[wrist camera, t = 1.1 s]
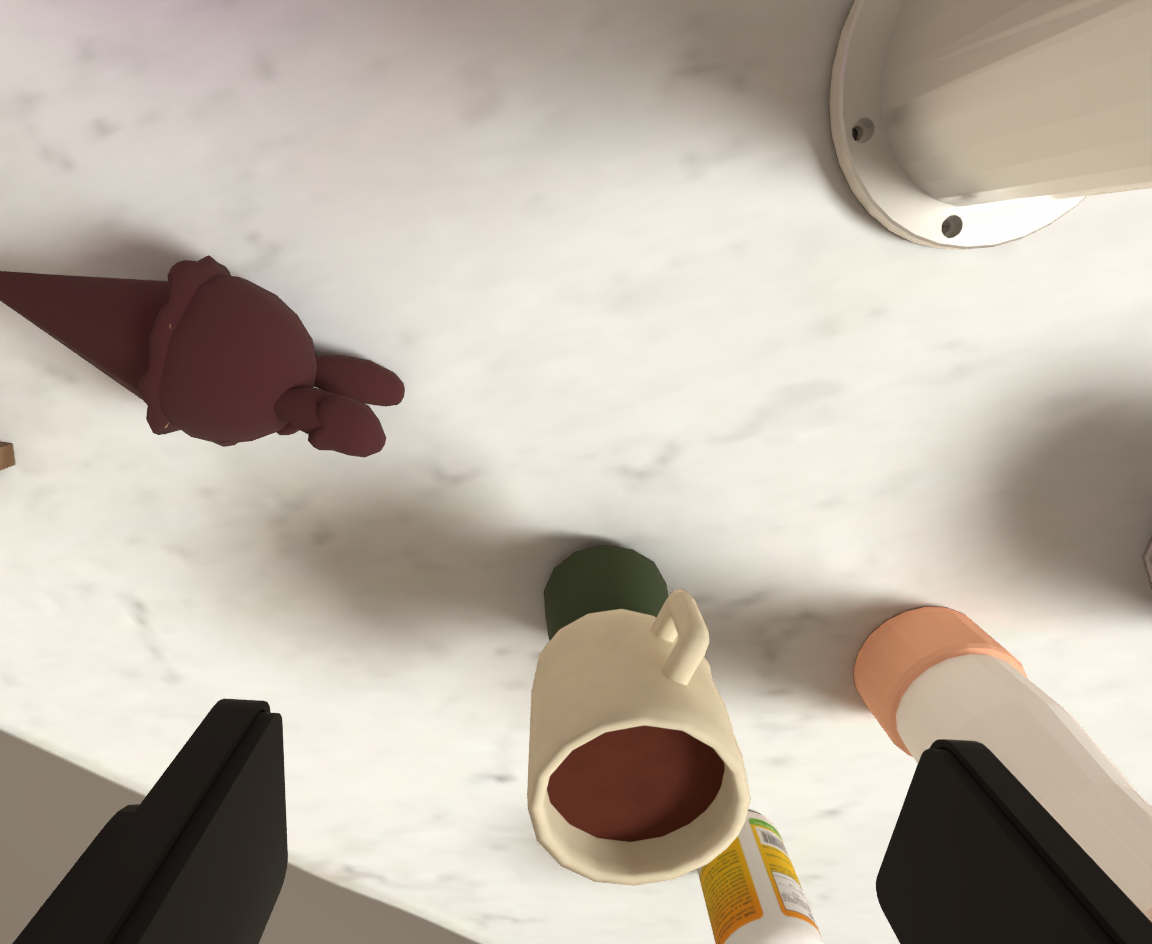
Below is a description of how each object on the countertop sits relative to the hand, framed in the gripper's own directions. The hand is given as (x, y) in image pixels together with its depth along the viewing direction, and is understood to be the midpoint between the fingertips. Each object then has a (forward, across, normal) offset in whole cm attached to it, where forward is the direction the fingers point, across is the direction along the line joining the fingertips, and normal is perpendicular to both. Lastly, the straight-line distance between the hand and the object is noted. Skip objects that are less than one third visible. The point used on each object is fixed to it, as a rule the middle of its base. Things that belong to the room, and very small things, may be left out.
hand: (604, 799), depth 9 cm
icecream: (+21, +14, -3) cm, 26 cm away
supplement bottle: (+21, -14, +25) cm, 35 cm away
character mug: (+21, -3, +8) cm, 23 cm away
